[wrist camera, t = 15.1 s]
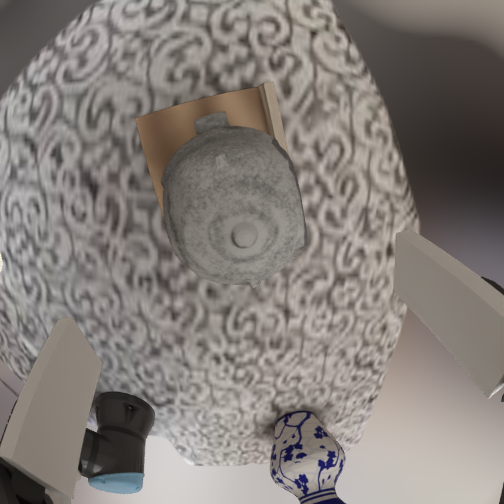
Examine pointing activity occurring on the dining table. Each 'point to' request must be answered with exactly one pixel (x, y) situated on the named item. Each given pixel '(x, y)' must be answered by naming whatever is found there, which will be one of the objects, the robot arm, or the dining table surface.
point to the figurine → (232, 203)
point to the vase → (306, 459)
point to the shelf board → (182, 116)
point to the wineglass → (1, 263)
